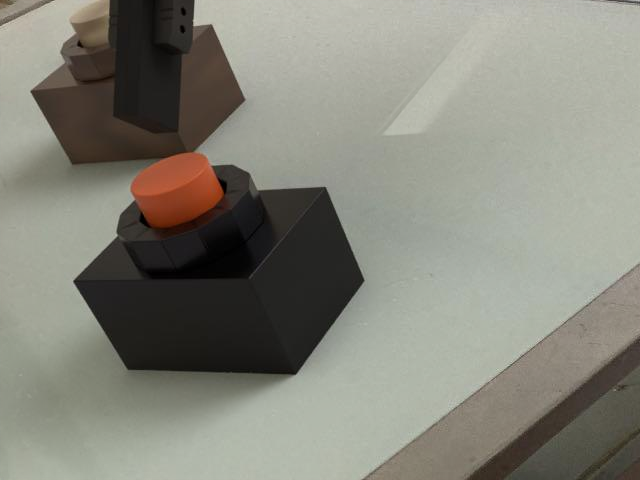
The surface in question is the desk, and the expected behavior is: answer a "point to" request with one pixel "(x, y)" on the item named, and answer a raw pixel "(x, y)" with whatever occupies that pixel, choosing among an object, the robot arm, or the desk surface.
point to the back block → (119, 136)
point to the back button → (92, 23)
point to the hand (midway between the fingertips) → (146, 124)
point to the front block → (225, 282)
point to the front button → (176, 190)
